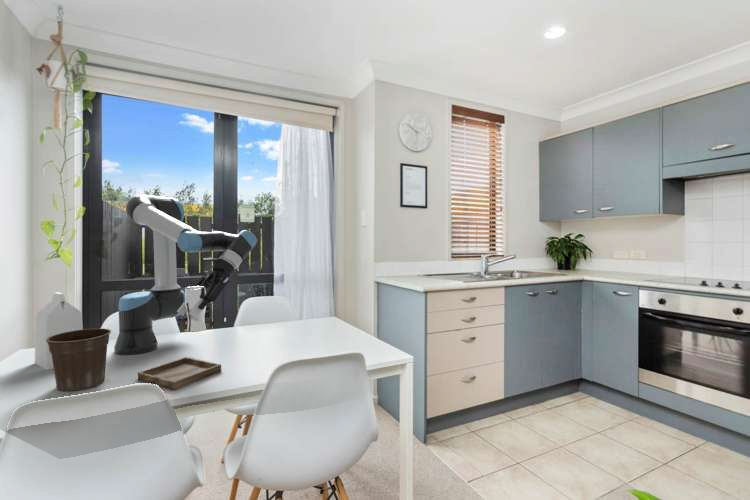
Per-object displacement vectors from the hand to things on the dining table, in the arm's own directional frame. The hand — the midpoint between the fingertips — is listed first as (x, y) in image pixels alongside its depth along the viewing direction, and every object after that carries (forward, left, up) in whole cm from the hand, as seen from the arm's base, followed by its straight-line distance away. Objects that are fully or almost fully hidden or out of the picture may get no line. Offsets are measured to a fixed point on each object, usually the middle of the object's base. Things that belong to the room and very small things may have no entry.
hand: (186, 314), depth 128 cm
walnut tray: (0, -2, -21) cm, 21 cm away
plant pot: (-22, -21, -21) cm, 37 cm away
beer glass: (+1, +4, -6) cm, 7 cm away
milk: (-52, -13, -21) cm, 58 cm away
